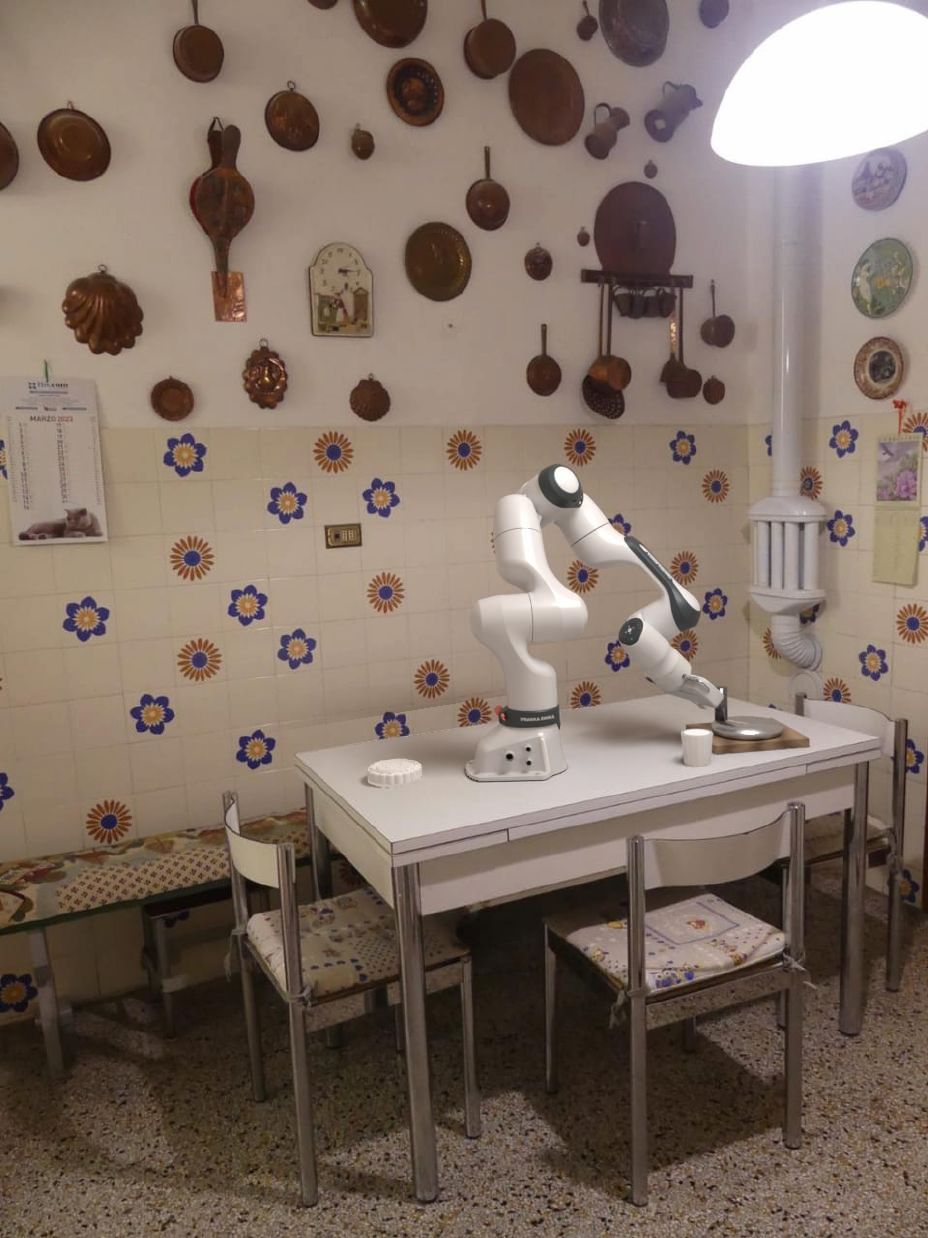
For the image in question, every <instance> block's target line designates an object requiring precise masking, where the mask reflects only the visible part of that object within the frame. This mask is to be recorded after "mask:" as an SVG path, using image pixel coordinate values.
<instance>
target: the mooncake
mask: <svg viewBox="0 0 928 1238" xmlns="http://www.w3.org/2000/svg"><path fill="white" fill-rule="evenodd" d="M422 768H423V766H422V763H420V762H419V761H417V760H413V759H407V758H396V757H395V758H393V759H383V760H379V761H376V762H374V763H373V764H371V765H369V766H368V767H367V768H366V775H367V776H366V777H367V780H368V779H369V781H371V782H374V783H377V784H378V783H380V784H382V785H383V784H388V785H393V784H402V783H409V782H411V781H415V780H417V779H420V777H421V776H422V777H423V769H422Z"/></svg>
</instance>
